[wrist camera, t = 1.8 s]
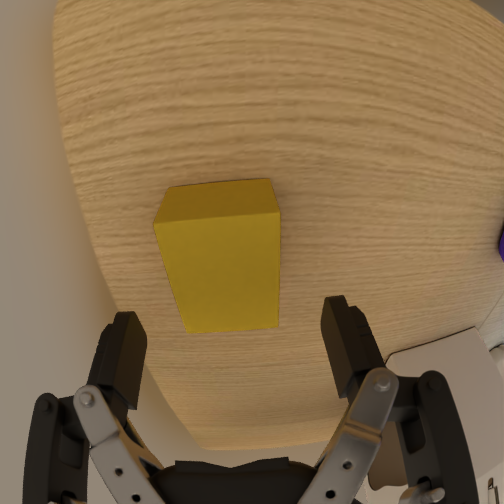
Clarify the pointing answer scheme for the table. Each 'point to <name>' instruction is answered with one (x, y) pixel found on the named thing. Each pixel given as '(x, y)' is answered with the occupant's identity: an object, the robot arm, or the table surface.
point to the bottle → (502, 247)
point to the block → (222, 254)
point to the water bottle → (499, 358)
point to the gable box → (469, 409)
